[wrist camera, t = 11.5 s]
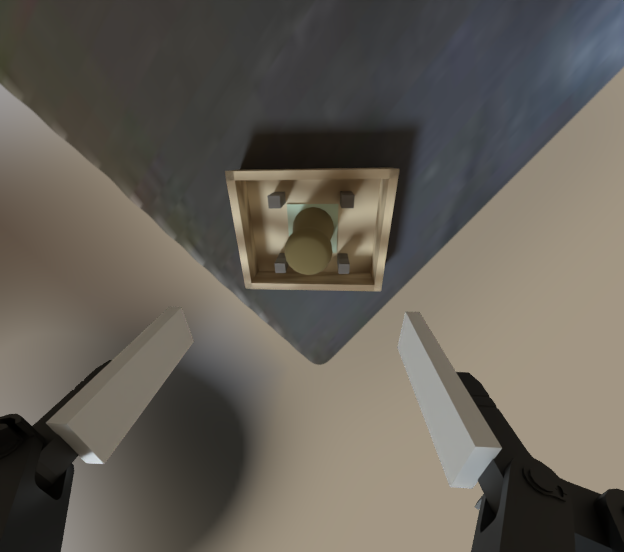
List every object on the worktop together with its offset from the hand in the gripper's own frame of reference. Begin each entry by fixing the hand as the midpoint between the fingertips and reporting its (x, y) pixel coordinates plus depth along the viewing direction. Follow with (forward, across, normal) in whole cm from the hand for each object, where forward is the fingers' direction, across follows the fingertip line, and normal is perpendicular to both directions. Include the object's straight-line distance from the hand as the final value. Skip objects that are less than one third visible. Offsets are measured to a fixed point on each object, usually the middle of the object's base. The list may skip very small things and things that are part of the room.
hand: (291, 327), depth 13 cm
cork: (+22, 0, 0) cm, 22 cm away
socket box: (+23, 0, 0) cm, 23 cm away
